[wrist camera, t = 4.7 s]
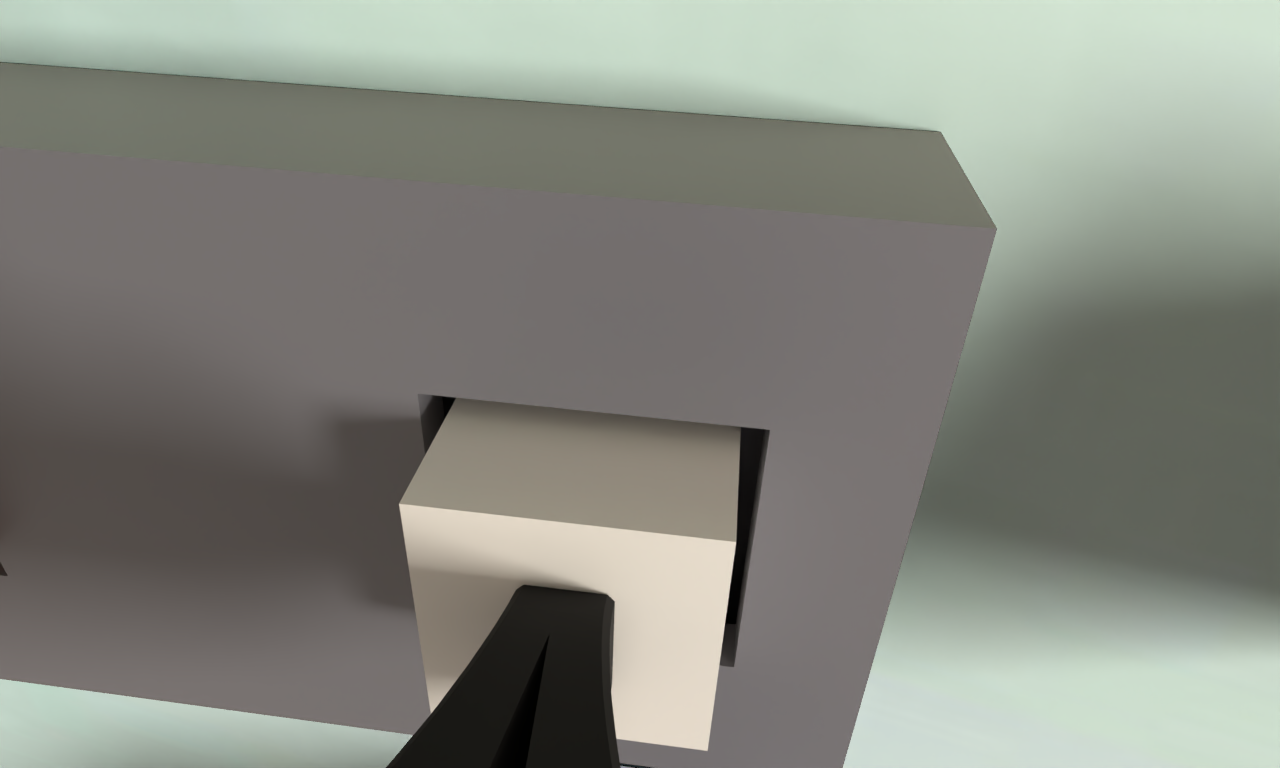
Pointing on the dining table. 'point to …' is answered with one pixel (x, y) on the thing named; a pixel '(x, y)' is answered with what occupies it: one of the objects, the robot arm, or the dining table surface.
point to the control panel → (446, 372)
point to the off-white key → (581, 546)
